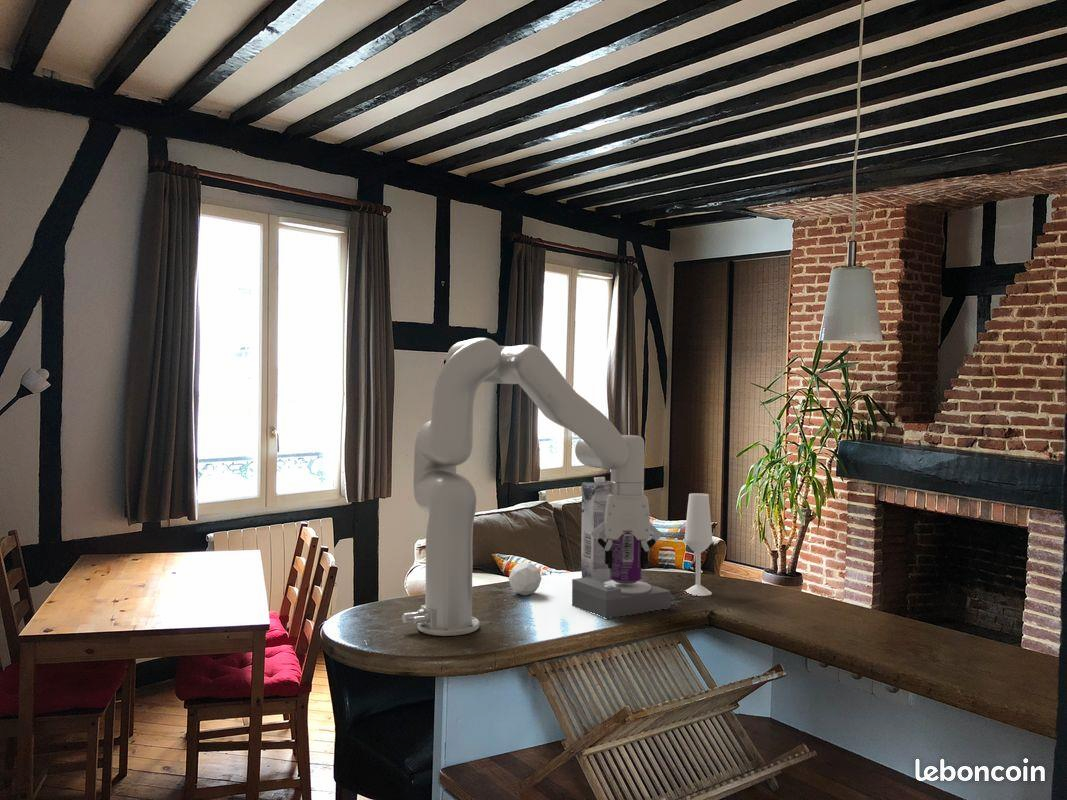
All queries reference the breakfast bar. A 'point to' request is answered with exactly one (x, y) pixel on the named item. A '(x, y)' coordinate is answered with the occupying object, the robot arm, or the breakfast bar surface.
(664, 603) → the grey display pedestal
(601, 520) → the juice carton
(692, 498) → the champagne flute
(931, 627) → the breakfast bar surface
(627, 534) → the beverage can
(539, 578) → the geometric ball
